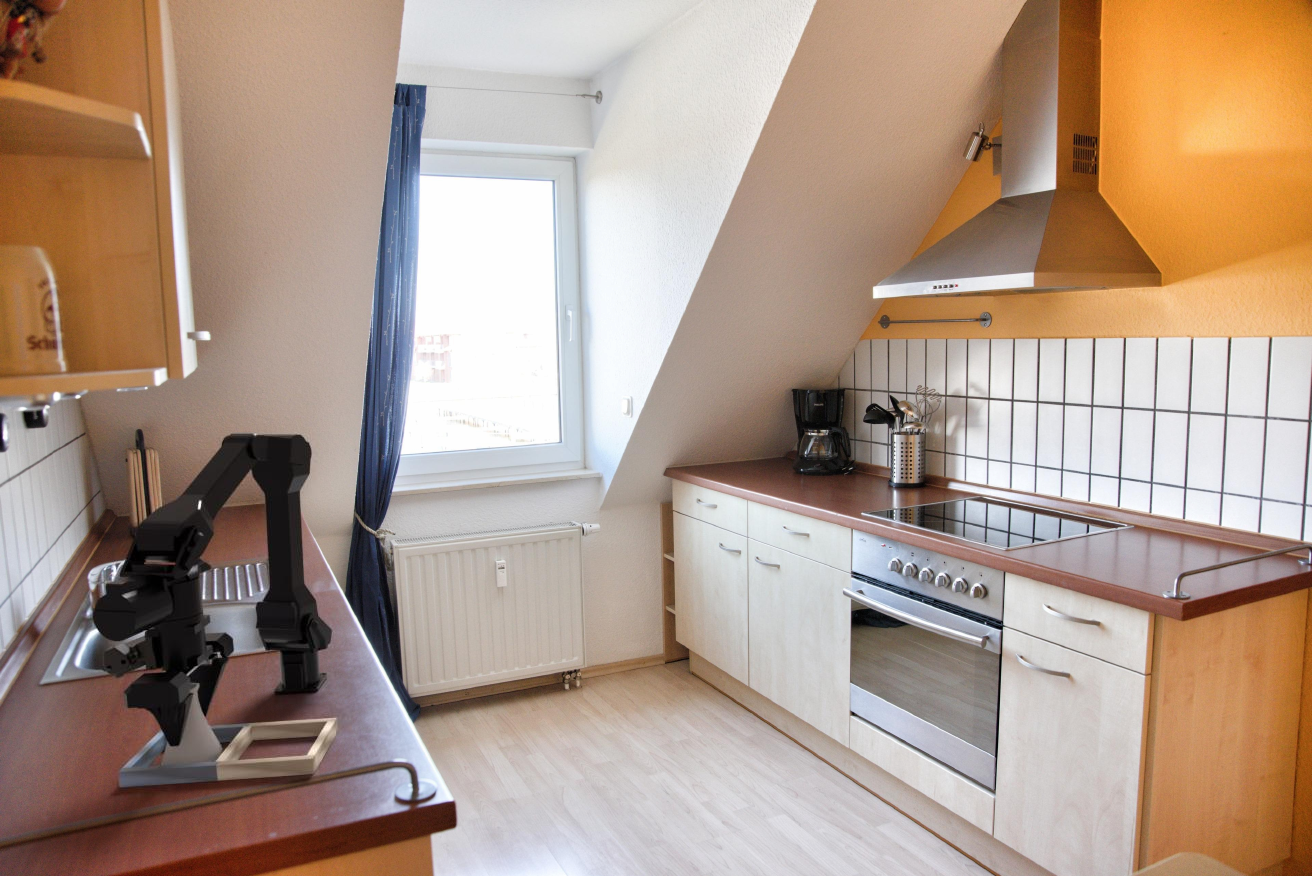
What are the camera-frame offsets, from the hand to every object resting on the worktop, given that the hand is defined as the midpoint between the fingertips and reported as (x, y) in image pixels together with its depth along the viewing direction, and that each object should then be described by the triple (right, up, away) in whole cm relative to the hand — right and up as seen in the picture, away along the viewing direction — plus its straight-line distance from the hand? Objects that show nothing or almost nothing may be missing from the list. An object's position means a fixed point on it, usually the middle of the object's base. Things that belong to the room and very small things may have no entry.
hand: (188, 731), depth 115 cm
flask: (0, -4, +1) cm, 4 cm away
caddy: (+6, -4, +1) cm, 7 cm away
